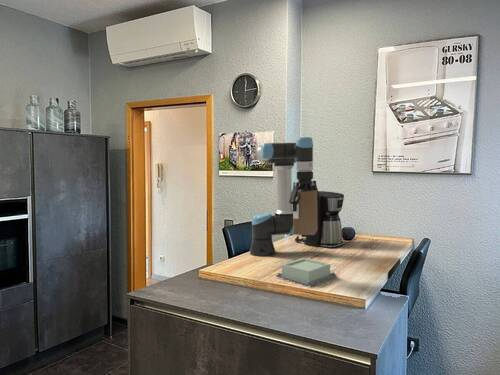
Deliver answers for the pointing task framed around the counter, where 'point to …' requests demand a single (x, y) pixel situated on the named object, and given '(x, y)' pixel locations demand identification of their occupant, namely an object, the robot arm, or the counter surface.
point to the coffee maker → (327, 222)
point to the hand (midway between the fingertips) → (305, 216)
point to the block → (306, 213)
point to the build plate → (306, 272)
